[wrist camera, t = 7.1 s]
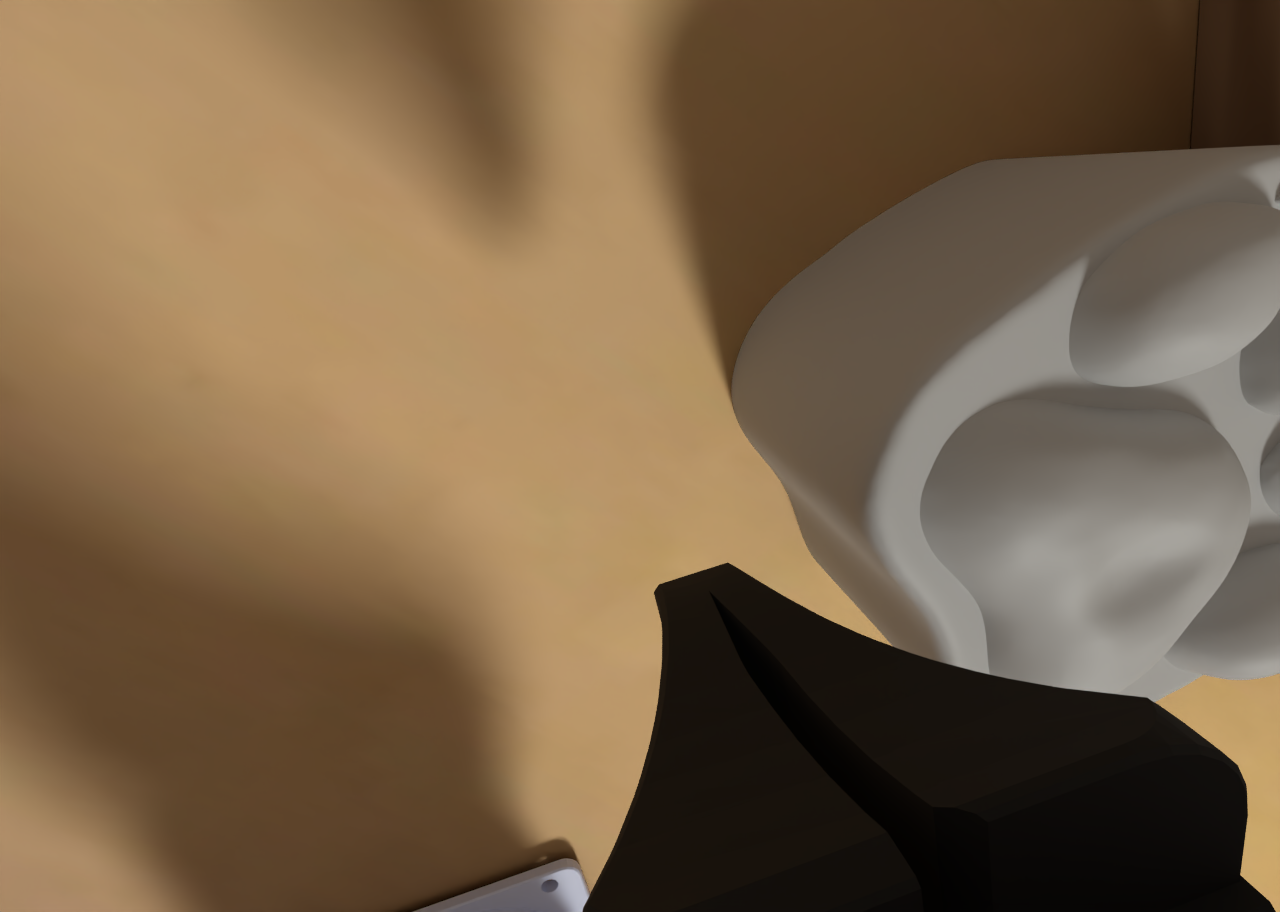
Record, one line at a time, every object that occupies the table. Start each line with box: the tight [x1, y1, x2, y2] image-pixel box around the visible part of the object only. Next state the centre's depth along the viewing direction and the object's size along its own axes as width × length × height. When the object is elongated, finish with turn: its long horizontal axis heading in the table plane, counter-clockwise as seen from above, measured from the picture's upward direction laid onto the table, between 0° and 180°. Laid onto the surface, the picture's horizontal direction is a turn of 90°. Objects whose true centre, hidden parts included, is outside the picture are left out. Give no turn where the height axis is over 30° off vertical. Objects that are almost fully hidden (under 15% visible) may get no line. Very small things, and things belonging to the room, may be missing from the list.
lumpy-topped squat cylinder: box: [732, 145, 1280, 702], centre depth 16 cm, size 10×13×9 cm
